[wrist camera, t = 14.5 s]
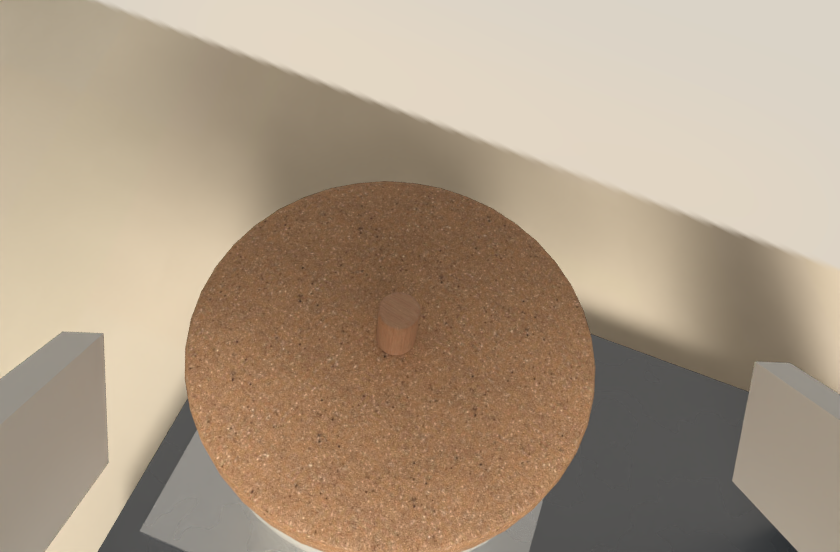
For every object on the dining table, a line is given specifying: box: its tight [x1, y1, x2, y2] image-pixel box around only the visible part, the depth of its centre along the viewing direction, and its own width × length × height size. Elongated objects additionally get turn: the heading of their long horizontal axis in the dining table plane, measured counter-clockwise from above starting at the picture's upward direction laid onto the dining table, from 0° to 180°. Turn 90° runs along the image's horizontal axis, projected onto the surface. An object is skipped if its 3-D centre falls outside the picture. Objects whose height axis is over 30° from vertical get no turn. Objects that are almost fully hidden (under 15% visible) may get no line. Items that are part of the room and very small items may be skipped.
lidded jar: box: [185, 181, 595, 552], centre depth 21 cm, size 11×11×9 cm
